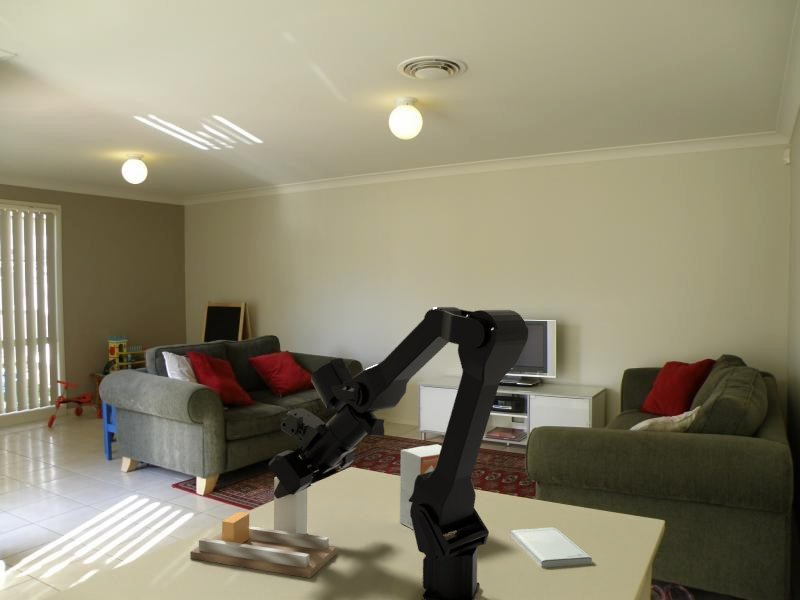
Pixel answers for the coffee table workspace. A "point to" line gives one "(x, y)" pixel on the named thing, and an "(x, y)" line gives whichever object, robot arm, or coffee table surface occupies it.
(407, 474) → the small box
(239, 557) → the rail board
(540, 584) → the coffee table surface
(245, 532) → the block
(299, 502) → the block
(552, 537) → the hard drive
